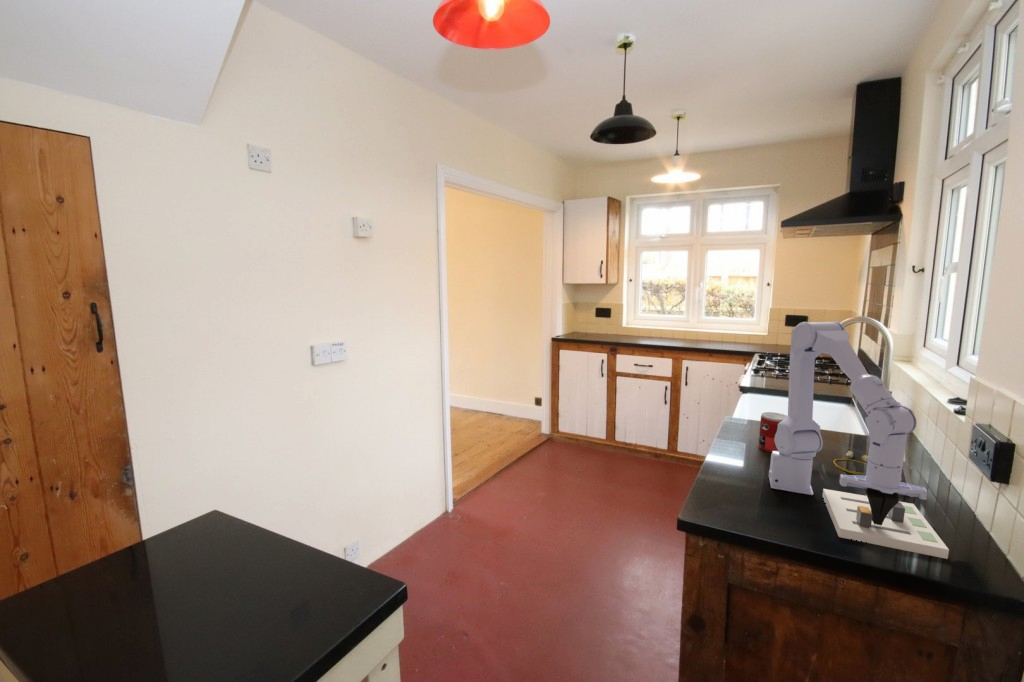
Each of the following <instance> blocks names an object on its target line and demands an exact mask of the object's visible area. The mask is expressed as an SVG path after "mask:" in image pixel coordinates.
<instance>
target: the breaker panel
mask: <svg viewBox="0 0 1024 682" xmlns="http://www.w3.org/2000/svg"><path fill="white" fill-rule="evenodd" d="M822 498H824V499H823V501H824V503H826V504H825V506H826V508H827V511H828V513H829V517H830V518H831V521H832V523H833V525H834V529H835V532H836V533H837V536H838V538H842V539H848V540H851V539H852V541H856V540H857V542H861V541H862V542H861V543H866V542H867V544H870V545H871V544H872V545H875V546H877V545H878V546H881V547H887V548H892V549H896V550H902V551H906V552H911V553H916V554H920V555H921V554H922V555H926V556H932V557H937V558H940V559H946V560H949V559H948V558H949V554H950V553H949V552H950V549H949V548H948V546H947V545H946V543H945V542H944V541H943V540H942V538H940V536H939V535H938V533H937V532H936V531H935V530H934V528H933V527H932V526H931V525H930V523H929V522H928V520H927V519H926V518H925V517H924V516H923V514H922V513H921V511H920V510H919V508H917V507H916V505H915V503H909V502H905V501H899V502H898V504H896V505H895V506H894V507H893V508H892V509H891V510H890V511H889V513H888V514H887V516H886V517H885V519H884V521H883V524H882V525H876V524H874V523H873V521H872V523H871V528H870V527H864V526H859V524H858V522H857V520H856V515H857V508H858V506H864V507H869V509H870V511H871V507H870V503H869V500H868V497H867V495H863V494H858V493H851V492H845V491H839V490H834V489H827V488H823V489H822Z"/></svg>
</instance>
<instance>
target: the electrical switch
mask: <svg viewBox="0 0 1024 682" xmlns="http://www.w3.org/2000/svg"><path fill="white" fill-rule="evenodd" d="M912 469H913V468H912V466H910V464H909V462H908V457H907V454H906V452H905V453H904V460H903V467H902V474H901V481H900V482H903V483H907V484H911V485H914V481H913V474H912V473H913V472H912ZM909 498H915V497H914V496H909Z"/></svg>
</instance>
